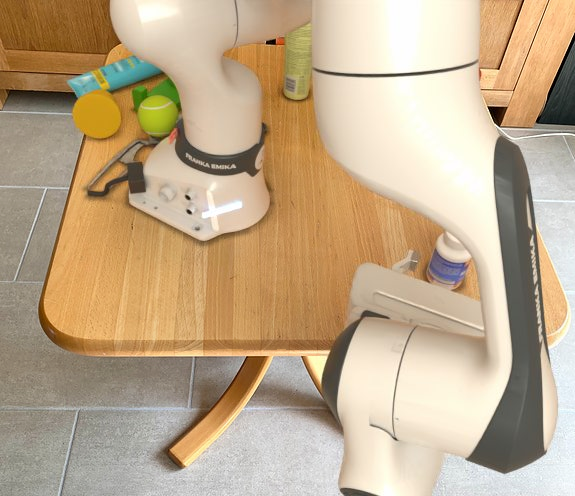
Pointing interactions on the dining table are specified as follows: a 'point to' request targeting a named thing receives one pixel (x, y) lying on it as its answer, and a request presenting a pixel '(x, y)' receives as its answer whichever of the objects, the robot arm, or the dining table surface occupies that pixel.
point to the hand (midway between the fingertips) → (453, 268)
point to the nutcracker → (127, 155)
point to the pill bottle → (448, 262)
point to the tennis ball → (157, 115)
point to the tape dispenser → (156, 93)
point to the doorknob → (97, 114)
